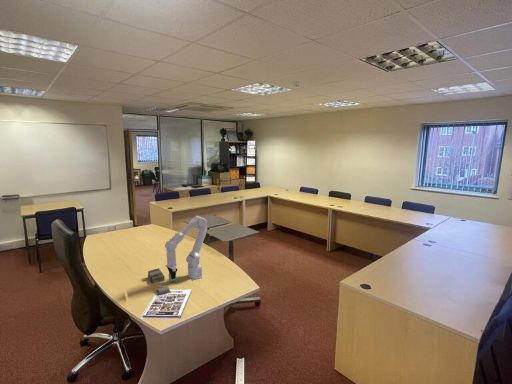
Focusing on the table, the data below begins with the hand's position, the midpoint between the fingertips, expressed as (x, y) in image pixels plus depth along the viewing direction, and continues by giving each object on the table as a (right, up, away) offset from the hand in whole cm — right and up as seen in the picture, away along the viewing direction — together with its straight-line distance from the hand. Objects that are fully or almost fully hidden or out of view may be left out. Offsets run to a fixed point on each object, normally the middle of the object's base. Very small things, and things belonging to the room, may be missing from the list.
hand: (172, 277), depth 184 cm
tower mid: (-2, -5, -12) cm, 13 cm away
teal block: (0, -2, 0) cm, 2 cm away
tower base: (-2, -7, -12) cm, 14 cm away
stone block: (-14, -4, +6) cm, 16 cm away
